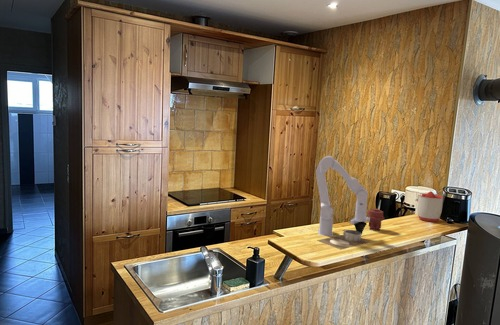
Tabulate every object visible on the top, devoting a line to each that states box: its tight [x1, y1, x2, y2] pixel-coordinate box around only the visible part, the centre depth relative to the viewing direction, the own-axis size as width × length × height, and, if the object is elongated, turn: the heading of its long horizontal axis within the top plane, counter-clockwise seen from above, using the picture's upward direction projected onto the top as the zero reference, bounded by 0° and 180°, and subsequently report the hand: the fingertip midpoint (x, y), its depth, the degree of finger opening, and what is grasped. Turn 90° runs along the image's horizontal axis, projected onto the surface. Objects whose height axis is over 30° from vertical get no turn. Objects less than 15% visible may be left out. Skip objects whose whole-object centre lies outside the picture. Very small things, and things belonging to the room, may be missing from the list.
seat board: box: [316, 234, 370, 250], centre depth 194 cm, size 24×16×1 cm, turn 126°
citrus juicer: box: [415, 191, 444, 223], centre depth 252 cm, size 16×17×20 cm
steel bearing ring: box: [342, 229, 362, 242], centre depth 198 cm, size 9×9×4 cm
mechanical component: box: [366, 208, 385, 232], centre depth 222 cm, size 12×10×10 cm
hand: (359, 235), depth 202 cm, fingers closed
